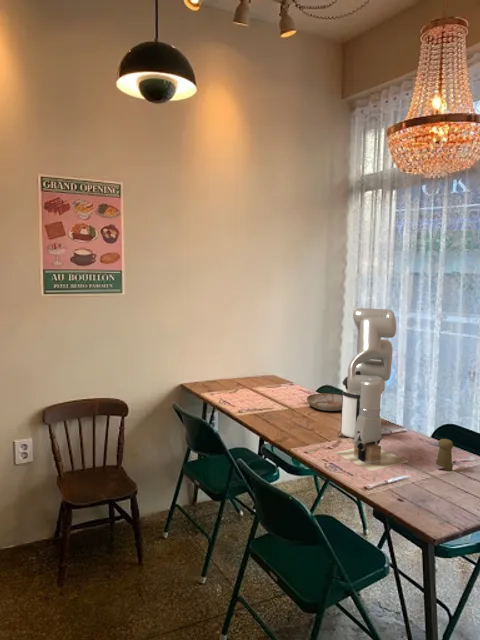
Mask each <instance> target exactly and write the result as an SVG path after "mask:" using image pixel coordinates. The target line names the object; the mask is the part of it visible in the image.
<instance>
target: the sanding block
mask: <svg viewBox="0 0 480 640" xmlns="http://www.w3.org/2000/svg"><path fill="white" fill-rule="evenodd" d="M358 443H359V442H358ZM362 445H363V444H361V446H362ZM353 446H354V447H353V448H354V456H355V457H357V458H358V450H359V449H357V447H356V445H354V444H353ZM381 449H382V446H381V445H380V444H378V445H376V444H374V443H372V442H370V443H366V446H365V450H364V451H366V454H365V462H367V463H369V464H373V463H377V462H380V458H381Z"/></svg>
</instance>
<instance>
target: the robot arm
mask: <svg viewBox="0 0 480 640" xmlns="http://www.w3.org/2000/svg"><path fill="white" fill-rule="evenodd" d="M352 319H353V321H354V323H355V326H356V329H357V337H356V354H355V355H354V356H353V357H352V359H351V360H350V362H349V365H348V368H347V377H348V378H347V387H348V390H349V392H351V393H354V394H360V412H359V416H358V417H357V421H356V426H355V434H354V438H353V439H354V440H353V441H352V444H353V446H354V445H356V447H357V449H359V450H358V459H360V460H362V461H365V454H366V451H364V450H365V446H366V443H370V442H372V443H374V444H376V445H380V444H381V441H382V439H383V438H384V437H383V435H382V419H381V411H382V409H381V401H382V400H381V399H382V398H381V397H382V394H383V393H384V391H385V388H386V384H385V383H386V382H387V381H388V380H390V378H391V373H392V362H393V344H392V342H391V341H390V340H387V339H392V338H394V337H395V336H396V334H397V320H396V316H395V312H394V311H393V310H392V309H386V308H384V309H383V308H366V307H364V308H363V307H362V308H361V307H360V308H355V309H354V310H353V313H352ZM382 338H383V339H382ZM384 338H387V339H384ZM356 371H360V373H361V374H360V375H356V374H355V373H356ZM358 442H359V443H358ZM361 444H363V445H362V446H361Z"/></svg>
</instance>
